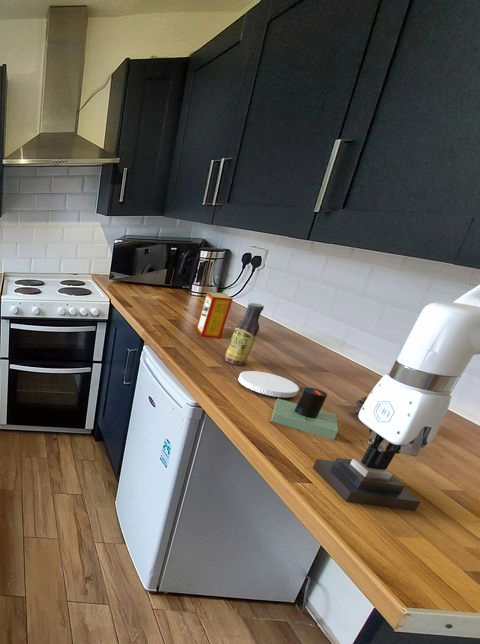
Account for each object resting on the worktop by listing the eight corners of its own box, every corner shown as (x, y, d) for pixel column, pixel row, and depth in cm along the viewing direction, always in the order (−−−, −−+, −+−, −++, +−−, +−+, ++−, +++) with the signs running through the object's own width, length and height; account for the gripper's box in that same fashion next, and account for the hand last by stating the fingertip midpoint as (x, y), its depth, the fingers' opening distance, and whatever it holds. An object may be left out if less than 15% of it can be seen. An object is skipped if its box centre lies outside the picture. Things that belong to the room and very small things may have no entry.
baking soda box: (196, 329, 165) (207, 290, 158) (213, 331, 163) (225, 292, 157) (201, 336, 156) (213, 296, 150) (220, 338, 155) (233, 297, 148)
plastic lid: (273, 379, 121) (276, 372, 120) (308, 402, 108) (311, 393, 107) (227, 377, 121) (229, 369, 120) (256, 399, 108) (259, 391, 107)
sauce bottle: (219, 360, 134) (238, 302, 126) (231, 357, 137) (251, 300, 128) (238, 367, 129) (258, 307, 121) (250, 365, 131) (271, 306, 123)
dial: (290, 407, 100) (300, 385, 97) (310, 410, 99) (320, 387, 96) (300, 416, 96) (311, 393, 93) (321, 419, 95) (332, 395, 92)
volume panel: (332, 423, 99) (337, 413, 97) (333, 440, 91) (338, 430, 90) (273, 406, 105) (277, 397, 104) (270, 421, 98) (274, 412, 97)
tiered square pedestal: (373, 475, 80) (382, 459, 78) (414, 511, 71) (426, 493, 69) (312, 467, 82) (320, 451, 80) (345, 501, 73) (355, 484, 71)
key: (372, 468, 76) (376, 461, 76) (388, 482, 73) (392, 474, 72) (348, 465, 77) (352, 458, 76) (363, 479, 73) (368, 471, 73)
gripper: (364, 358, 74) (325, 441, 82) (435, 395, 61) (380, 490, 68) (410, 362, 73) (366, 445, 80) (493, 400, 59) (431, 496, 67)
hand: (372, 466), depth 74 cm, fingers closed
